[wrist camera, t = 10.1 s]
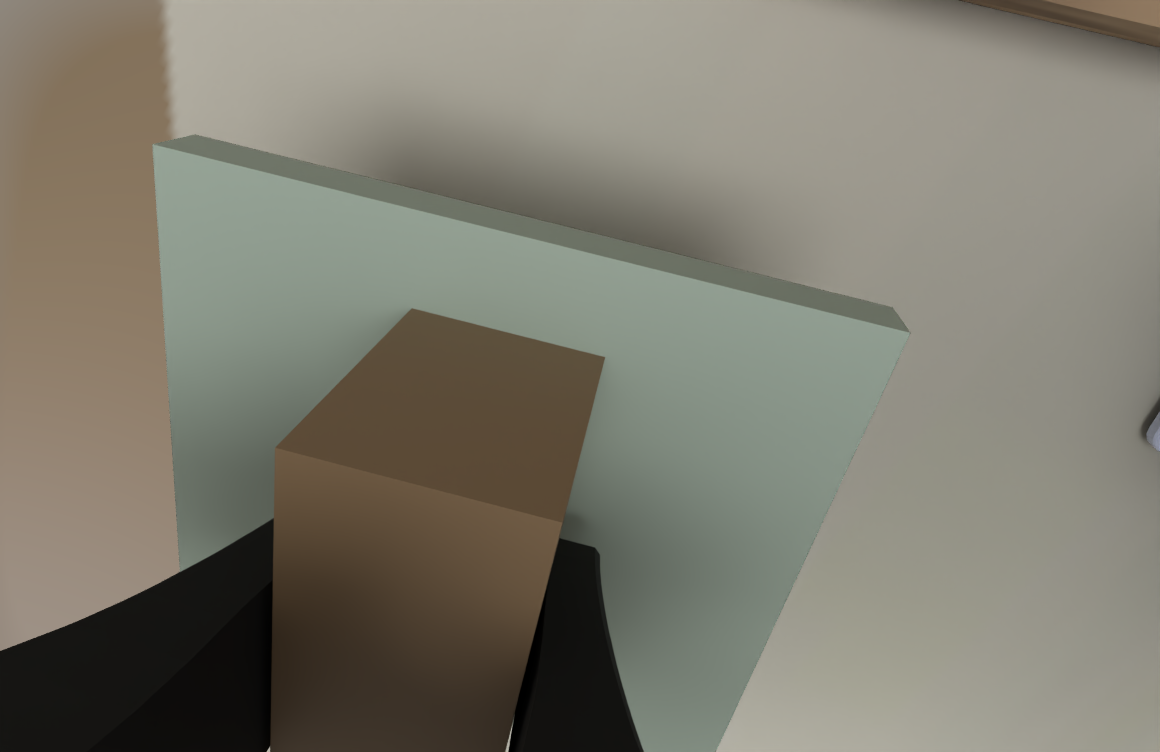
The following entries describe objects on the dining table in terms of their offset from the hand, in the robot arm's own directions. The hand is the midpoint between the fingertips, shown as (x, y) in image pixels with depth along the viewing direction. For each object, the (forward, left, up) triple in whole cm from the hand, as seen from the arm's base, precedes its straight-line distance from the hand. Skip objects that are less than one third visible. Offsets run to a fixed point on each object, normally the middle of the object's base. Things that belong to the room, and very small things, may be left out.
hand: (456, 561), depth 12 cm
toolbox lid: (0, 0, -2) cm, 2 cm away
